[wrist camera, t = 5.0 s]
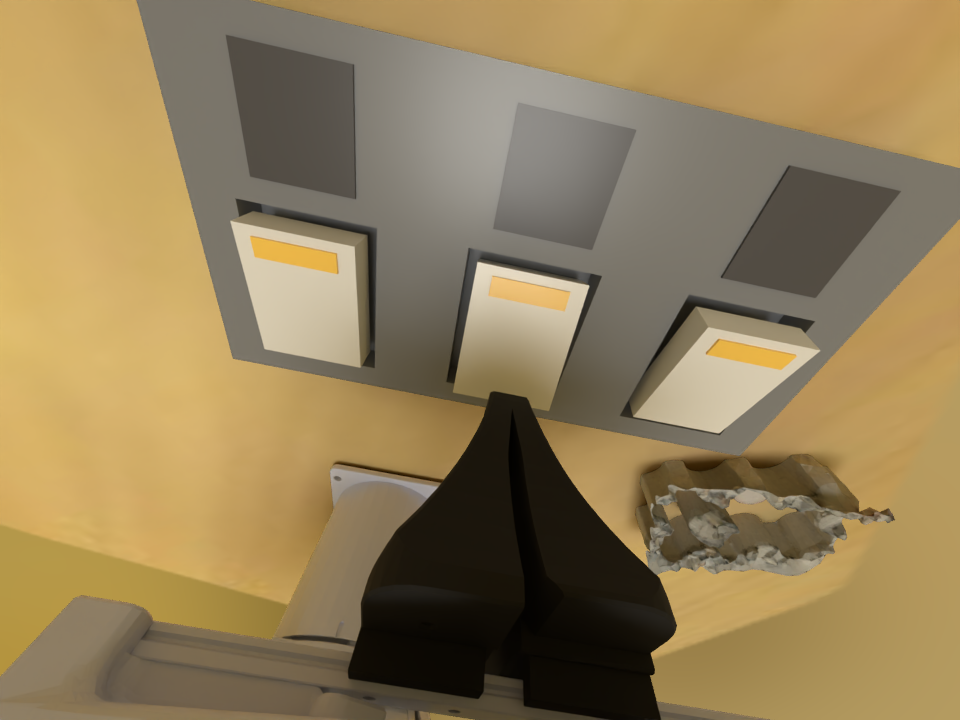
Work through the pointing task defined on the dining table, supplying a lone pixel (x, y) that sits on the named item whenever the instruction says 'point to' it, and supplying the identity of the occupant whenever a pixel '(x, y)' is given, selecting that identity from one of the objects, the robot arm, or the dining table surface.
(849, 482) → the dining table surface
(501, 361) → the rocker middle
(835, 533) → the egg carton
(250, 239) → the labelled cream tile
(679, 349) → the rocker carton end
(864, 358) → the dining table surface
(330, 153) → the grey rocker switch panel
